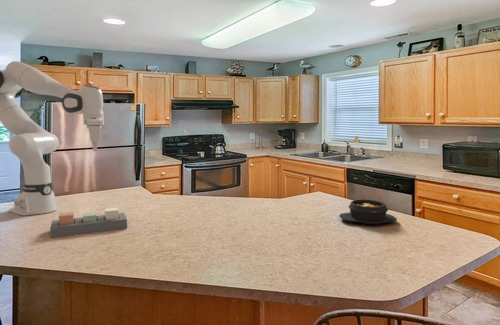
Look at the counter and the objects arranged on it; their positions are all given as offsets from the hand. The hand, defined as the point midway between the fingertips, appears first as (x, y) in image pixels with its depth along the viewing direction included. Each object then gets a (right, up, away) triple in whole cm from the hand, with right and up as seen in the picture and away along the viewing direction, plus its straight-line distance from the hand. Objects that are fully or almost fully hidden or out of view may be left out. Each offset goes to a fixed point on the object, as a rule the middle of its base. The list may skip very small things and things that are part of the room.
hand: (95, 150), depth 163 cm
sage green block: (+6, -32, -18) cm, 37 cm away
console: (+6, -33, -18) cm, 38 cm away
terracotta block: (-2, -31, -22) cm, 38 cm away
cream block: (+14, -30, -15) cm, 36 cm away
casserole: (+126, -32, -6) cm, 130 cm away
